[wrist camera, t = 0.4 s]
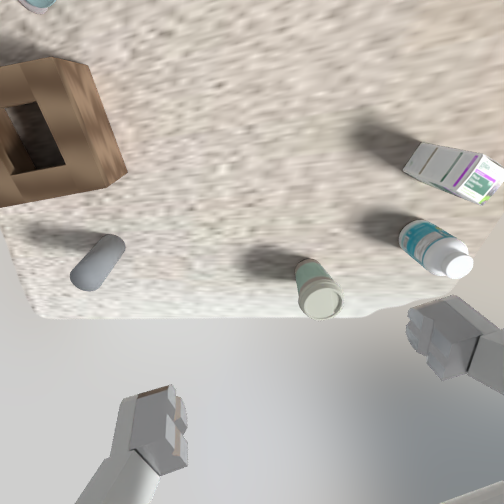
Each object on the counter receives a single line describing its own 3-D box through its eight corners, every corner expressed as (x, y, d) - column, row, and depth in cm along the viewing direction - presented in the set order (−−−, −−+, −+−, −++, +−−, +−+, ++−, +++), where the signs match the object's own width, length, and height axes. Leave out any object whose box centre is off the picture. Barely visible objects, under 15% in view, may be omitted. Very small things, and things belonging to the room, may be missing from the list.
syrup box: (400, 170, 54) (454, 193, 41) (421, 140, 51) (485, 153, 39) (423, 183, 55) (482, 208, 42) (444, 154, 53) (513, 171, 40)
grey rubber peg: (95, 236, 56) (64, 269, 45) (119, 232, 55) (94, 263, 45) (105, 258, 58) (78, 293, 47) (129, 253, 58) (106, 288, 47)
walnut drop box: (-16, 85, 43) (-79, 82, 34) (87, 65, 43) (51, 56, 34) (39, 189, 51) (-1, 208, 42) (127, 172, 50) (106, 187, 42)
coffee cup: (317, 290, 65) (334, 327, 55) (282, 281, 64) (293, 317, 53) (334, 258, 62) (355, 291, 51) (297, 248, 60) (312, 280, 49)
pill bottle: (437, 237, 61) (487, 270, 49) (405, 256, 63) (446, 293, 51) (424, 211, 58) (475, 239, 46) (391, 232, 60) (431, 265, 48)
